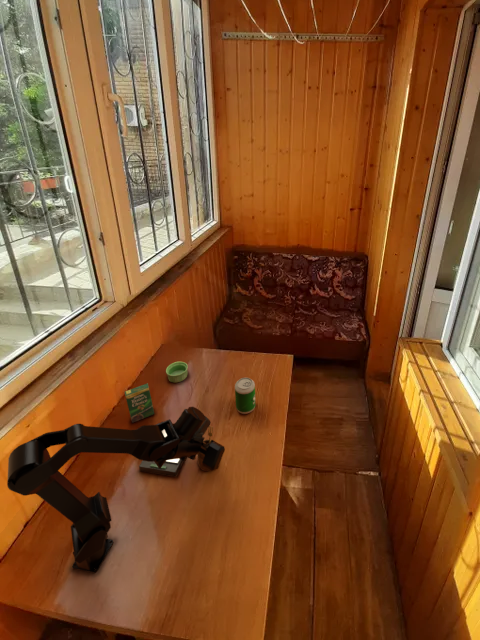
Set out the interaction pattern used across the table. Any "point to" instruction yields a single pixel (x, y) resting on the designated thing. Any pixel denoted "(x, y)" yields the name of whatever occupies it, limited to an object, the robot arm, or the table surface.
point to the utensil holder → (201, 455)
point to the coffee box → (139, 402)
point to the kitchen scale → (167, 469)
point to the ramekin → (177, 371)
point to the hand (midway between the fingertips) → (209, 443)
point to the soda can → (245, 395)
